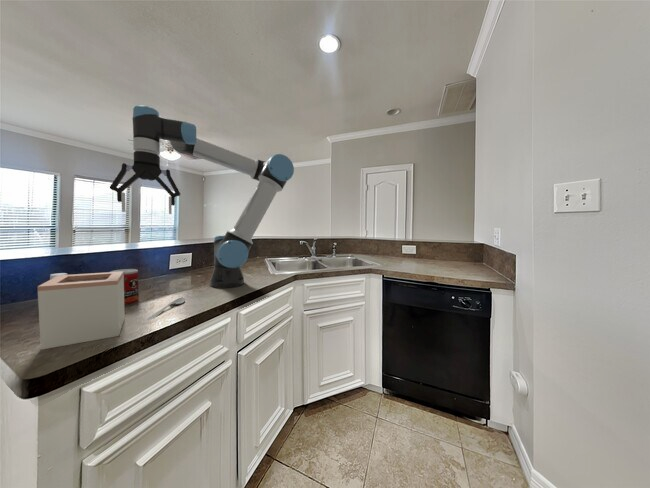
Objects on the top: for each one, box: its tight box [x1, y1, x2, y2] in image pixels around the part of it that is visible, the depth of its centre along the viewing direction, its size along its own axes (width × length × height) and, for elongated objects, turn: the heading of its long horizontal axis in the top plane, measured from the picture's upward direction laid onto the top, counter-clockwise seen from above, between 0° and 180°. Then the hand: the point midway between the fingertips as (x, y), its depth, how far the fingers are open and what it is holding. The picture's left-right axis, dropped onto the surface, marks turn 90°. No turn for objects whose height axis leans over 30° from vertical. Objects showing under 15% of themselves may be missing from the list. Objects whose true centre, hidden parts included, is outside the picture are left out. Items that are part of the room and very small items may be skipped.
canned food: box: [110, 268, 140, 305], centre depth 85 cm, size 8×8×11 cm
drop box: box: [37, 271, 126, 350], centre depth 61 cm, size 13×13×14 cm
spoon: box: [146, 297, 186, 321], centre depth 78 cm, size 4×21×2 cm, turn 2°
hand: (148, 213), depth 87 cm, fingers open, 13 cm apart
